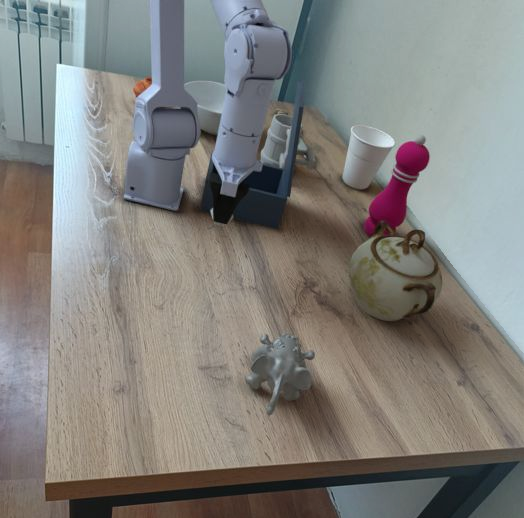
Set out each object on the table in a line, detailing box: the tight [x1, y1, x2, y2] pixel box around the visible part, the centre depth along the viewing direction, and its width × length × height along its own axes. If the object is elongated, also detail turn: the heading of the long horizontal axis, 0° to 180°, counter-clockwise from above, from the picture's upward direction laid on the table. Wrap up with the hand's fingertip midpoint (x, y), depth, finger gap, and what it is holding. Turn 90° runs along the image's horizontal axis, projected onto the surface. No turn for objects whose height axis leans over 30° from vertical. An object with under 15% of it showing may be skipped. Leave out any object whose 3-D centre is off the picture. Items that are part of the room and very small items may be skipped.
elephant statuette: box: [245, 332, 316, 416], centre depth 67 cm, size 9×12×8 cm
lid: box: [286, 81, 316, 198], centre depth 93 cm, size 15×12×4 cm
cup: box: [341, 124, 396, 190], centre depth 117 cm, size 10×10×11 cm
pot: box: [132, 76, 152, 99], centre depth 120 cm, size 8×8×7 cm
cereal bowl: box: [184, 80, 227, 136], centre depth 120 cm, size 17×17×7 cm
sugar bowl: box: [348, 221, 443, 322], centre depth 85 cm, size 20×15×15 cm
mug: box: [259, 113, 304, 169], centre depth 112 cm, size 8×12×12 cm, turn 7°
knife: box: [274, 108, 308, 160], centre depth 129 cm, size 27×2×5 cm
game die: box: [210, 208, 233, 227], centre depth 80 cm, size 4×4×3 cm
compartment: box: [199, 149, 288, 230], centre depth 100 cm, size 15×12×6 cm
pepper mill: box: [363, 134, 431, 237], centre depth 101 cm, size 7×7×20 cm
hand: (221, 214), depth 80 cm, fingers closed on game die, 3 cm apart
